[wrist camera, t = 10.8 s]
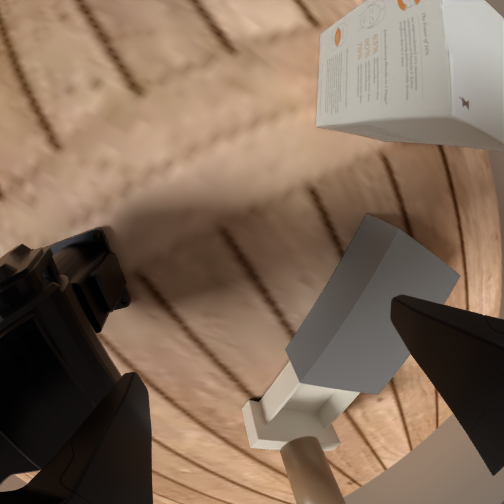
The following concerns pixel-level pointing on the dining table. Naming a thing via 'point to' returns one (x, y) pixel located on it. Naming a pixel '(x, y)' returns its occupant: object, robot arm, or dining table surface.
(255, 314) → the dining table surface
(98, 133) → the dining table surface
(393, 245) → the grey drawer housing
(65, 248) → the robot arm
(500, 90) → the small box
